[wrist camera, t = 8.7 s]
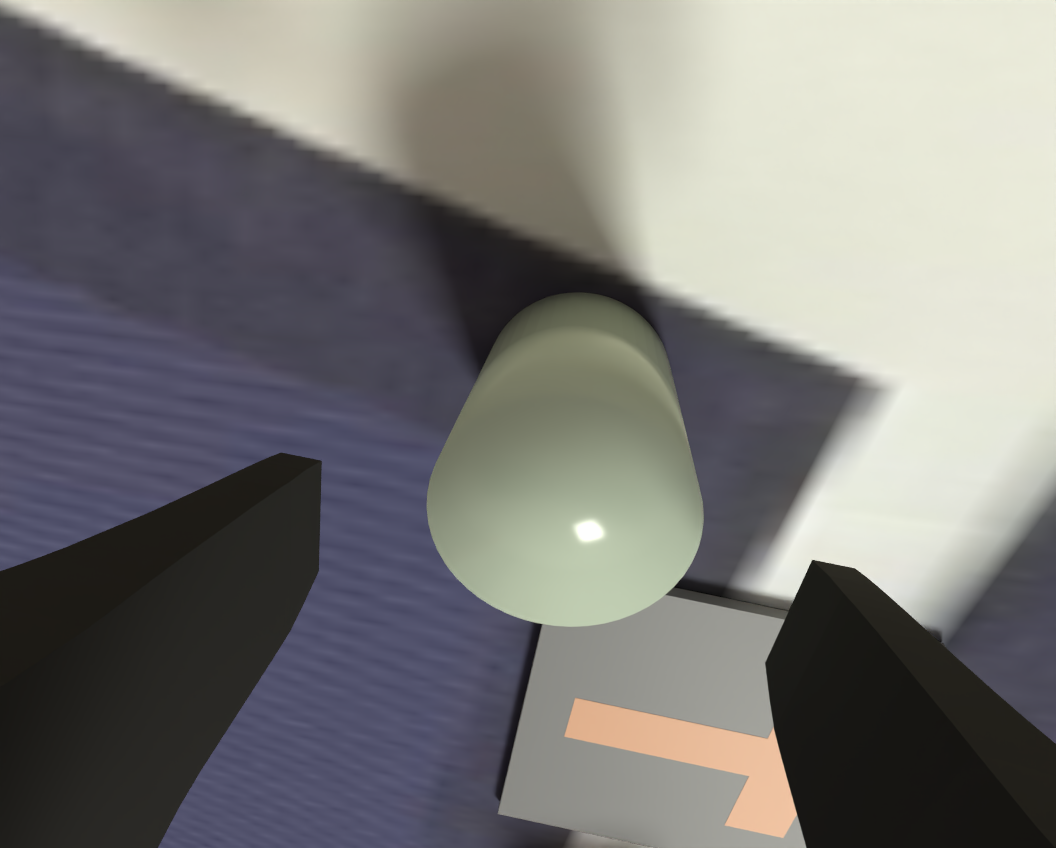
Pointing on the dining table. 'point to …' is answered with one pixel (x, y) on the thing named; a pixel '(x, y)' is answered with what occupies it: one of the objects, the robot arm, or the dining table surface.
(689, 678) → the letter tile
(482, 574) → the sage cylinder
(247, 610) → the robot arm
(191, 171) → the dining table surface
